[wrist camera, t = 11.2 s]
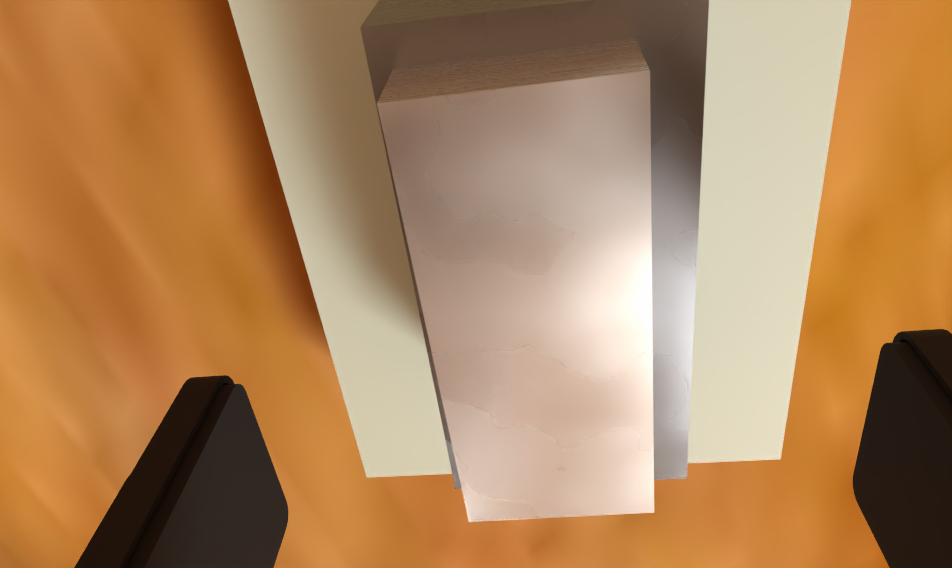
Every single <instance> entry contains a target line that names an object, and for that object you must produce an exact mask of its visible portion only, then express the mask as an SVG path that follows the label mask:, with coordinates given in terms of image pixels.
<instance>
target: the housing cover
mask: <svg viewBox="0 0 952 568" xmlns="http://www.w3.org/2000/svg"><path fill="white" fill-rule="evenodd" d="M377 106H378V111H379V115H380V120H381V124H382V129H383V133H384V138H385V142H386V147H387V152H388V156H389V161H390V165H391V170H392V174H393V179H394V183H395V188H396V192H397V197H398V202H399V206H400V211H401V215H402V220H403V224H404V229H405V233H406V238H407V243H408V247H409V252H410V256H411V261H412V265H413V270H414V274H415V279H416V283H417V288H418V293H419V297H420V302H421V306H422V311H423V315H424V320H425V324H426V329H427V334H428V338H429V343H430V347H431V352H432V356H433V361H434V365H435V370H436V374H437V379H438V384H439V388H440V393H441V397H442V402H443V406H444V411H445V415H446V420H447V425H448V429H449V434H450V438H451V443H452V447H453V452H454V456H455V461H456V465H457V470H458V475H459V479H460V484H461V488H462V493H463V497H464V502H465V506H466V511H467V516H468V520H469V522H475V521H495V520H515V519H535V518H555V517H575V516H595V515H615V514H635V513H654V440H653V331H652V222H651V114H650V69H649V67H648V65H647V63H646V61H645V59H644V57H643V55H642V52H641V50H640V48H639V46H638V44H637V42H636V40H635V39H627V40H619V41H611V42H603V43H595V44H587V45H579V46H571V47H563V48H555V49H547V50H539V51H531V52H523V53H515V54H507V55H499V56H491V57H483V58H475V59H467V60H459V61H451V62H443V63H435V64H427V65H419V66H411V67H403V68H395V69H393V70H392V72H391V74H390V76H389V78H388V81H387V83H386V85H385V87H384V89H383V91H382V94H381V96H380V98H379V100H378V102H377Z"/></svg>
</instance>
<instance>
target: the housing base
mask: <svg viewBox="0 0 952 568" xmlns="http://www.w3.org/2000/svg"><path fill="white" fill-rule="evenodd" d="M708 13H709V0H379V1H378V2H377V4H376V5H375V7H374V8H373V9H372V11H371V12H370V14H369V15H368V17H367V18H366V20H365V21H364V22H363V24H362V25H361V27H360V29H361V34H362V39H363V44H364V49H365V54H366V58H367V63H368V68H369V73H370V78H371V83H372V87H373V92H374V97H375V102H376V107H377V112H378V117H379V121H380V126H381V131H382V136H383V141H384V146H385V150H386V155H387V160H388V165H389V170H390V175H391V179H392V184H393V189H394V194H395V199H396V204H397V209H398V213H399V218H400V223H401V228H402V233H403V238H404V242H405V247H406V252H407V257H408V262H409V267H410V271H411V276H412V281H413V286H414V291H415V296H416V301H417V305H418V310H419V315H420V320H421V325H422V330H423V334H424V339H425V344H426V349H427V354H428V359H429V363H430V368H431V373H432V378H433V383H434V388H435V393H436V397H437V402H438V407H439V412H440V417H441V422H442V426H443V431H444V436H445V441H446V446H447V451H448V455H449V460H450V465H451V470H452V475H453V480H454V485H455V489H462V488H461V484H460V479H459V475H458V470H457V465H456V461H455V456H454V452H453V447H452V443H451V438H450V434H449V429H448V425H447V420H446V415H445V411H444V406H443V402H442V397H441V393H440V388H439V384H438V379H437V374H436V370H435V365H434V361H433V356H432V352H431V347H430V343H429V338H428V334H427V329H426V324H425V320H424V315H423V311H422V306H421V302H420V297H419V293H418V288H417V283H416V279H415V274H414V270H413V265H412V261H411V256H410V252H409V247H408V243H407V238H406V233H405V229H404V224H403V220H402V215H401V211H400V206H399V202H398V197H397V192H396V188H395V183H394V179H393V174H392V170H391V165H390V161H389V156H388V152H387V147H386V142H385V138H384V133H383V129H382V124H381V120H380V115H379V111H378V106H377V102H378V100H379V98H380V96H381V94H382V91H383V89H384V87H385V85H386V83H387V81H388V78H389V76H390V74H391V72H392V70H393V69H395V68H403V67H411V66H419V65H427V64H435V63H443V62H451V61H459V60H467V59H475V58H483V57H491V56H499V55H507V54H515V53H523V52H531V51H539V50H547V49H555V48H563V47H571V46H579V45H587V44H595V43H603V42H611V41H619V40H627V39H635V40H636V42H637V44H638V46H639V48H640V50H641V52H642V55H643V57H644V59H645V61H646V63H647V65H648V67H649V69H650V114H651V222H652V331H653V440H654V480H659V479H681V478H687V462H688V441H689V419H690V398H691V377H692V355H693V334H694V312H695V291H696V270H697V248H698V227H699V205H700V184H701V163H702V141H703V120H704V98H705V77H706V55H707V34H708Z"/></svg>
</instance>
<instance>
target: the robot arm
mask: <svg viewBox="0 0 952 568" xmlns="http://www.w3.org/2000/svg"><path fill="white" fill-rule="evenodd" d="M853 489H854V494H855V497H856V500H857V503H858V505H859V507H860V509H861V511H862V513H863V515H864V517H865V519H866V521H867V523H868V525H869V527H870V529H871V531H872V533H873V535H874V537H875V539H876V541H877V543H878V545H879V547H880V549H881V551H882V553H883V555H884V557H885V559H886V561H887V563H888V565H889V567H890V568H952V334H951V333H950V332H949V331H947V330H944V329H936V330H920V331H905V332H900V333H898V334H897V335H896V336H895V337H894V340H893V343H886V344H884V345H883V346H882V348H881V351H880V355H879V360H878V365H877V369H876V374H875V378H874V383H873V387H872V392H871V397H870V401H869V406H868V410H867V415H866V419H865V424H864V429H863V433H862V438H861V442H860V447H859V452H858V456H857V461H856V465H855V470H854V474H853ZM287 522H288V505H287V502H286V499H285V496H284V493H283V491H282V488H281V485H280V483H279V480H278V477H277V474H276V472H275V469H274V466H273V464H272V461H271V458H270V455H269V453H268V450H267V447H266V445H265V442H264V439H263V437H262V434H261V431H260V428H259V426H258V423H257V420H256V418H255V415H254V412H253V409H252V407H251V404H250V401H249V399H248V396H247V393H246V391H245V389H244V387H243V386H242V385H241V384H234V382H233V380H232V379H231V378H230V377H229V376H225V375H224V376H209V377H194V378H190V379H188V380H187V381H186V382H185V383H184V385H183V386H182V388H181V390H180V391H179V393H178V395H177V397H176V398H175V400H174V402H173V403H172V405H171V407H170V408H169V410H168V412H167V414H166V415H165V417H164V419H163V420H162V422H161V424H160V425H159V427H158V429H157V430H156V432H155V434H154V436H153V437H152V439H151V441H150V442H149V444H148V446H147V447H146V449H145V451H144V453H143V454H142V456H141V458H140V459H139V461H138V463H137V464H136V466H135V468H134V470H133V471H132V473H131V474H130V476H129V477H128V478H127V479H126V481H125V483H124V484H123V486H122V488H121V490H120V491H119V493H118V495H117V496H116V498H115V500H114V501H113V503H112V505H111V506H110V508H109V510H108V512H107V513H106V515H105V517H104V518H103V520H102V522H101V523H100V525H99V527H98V528H97V530H96V532H95V534H94V535H93V537H92V539H91V540H90V542H89V544H88V545H87V547H86V549H85V551H84V552H83V554H82V556H81V557H80V559H79V561H78V562H77V564H76V566H75V567H74V568H273V567H274V564H275V561H276V558H277V555H278V552H279V549H280V546H281V543H282V539H283V536H284V533H285V530H286V527H287Z"/></svg>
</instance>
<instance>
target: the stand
mask: <svg viewBox="0 0 952 568" xmlns="http://www.w3.org/2000/svg"><path fill="white" fill-rule="evenodd" d="M378 1H379V0H228V2H229V5H230V9H231V12H232V15H233V19H234V22H235V26H236V29H237V33H238V36H239V40H240V43H241V46H242V50H243V53H244V57H245V60H246V64H247V67H248V70H249V74H250V77H251V81H252V84H253V88H254V91H255V95H256V98H257V101H258V105H259V108H260V112H261V115H262V119H263V122H264V126H265V129H266V132H267V136H268V139H269V143H270V146H271V150H272V153H273V156H274V160H275V163H276V167H277V170H278V174H279V177H280V181H281V184H282V187H283V191H284V194H285V198H286V201H287V205H288V208H289V211H290V215H291V218H292V222H293V225H294V229H295V232H296V236H297V239H298V242H299V246H300V249H301V253H302V256H303V260H304V263H305V266H306V270H307V273H308V277H309V280H310V284H311V287H312V291H313V294H314V297H315V301H316V304H317V308H318V311H319V315H320V318H321V321H322V325H323V328H324V332H325V335H326V339H327V342H328V346H329V349H330V352H331V356H332V359H333V363H334V366H335V370H336V373H337V377H338V380H339V383H340V387H341V390H342V394H343V397H344V401H345V404H346V407H347V411H348V414H349V418H350V421H351V425H352V428H353V432H354V435H355V438H356V442H357V445H358V449H359V452H360V456H361V459H362V462H363V466H364V469H365V473H366V476H367V477H388V476H410V475H433V474H452V470H451V465H450V460H449V455H448V451H447V446H446V441H445V436H444V431H443V426H442V422H441V417H440V412H439V407H438V402H437V397H436V393H435V388H434V383H433V378H432V373H431V368H430V363H429V359H428V354H427V349H426V344H425V339H424V334H423V330H422V325H421V320H420V315H419V310H418V305H417V301H416V296H415V291H414V286H413V281H412V276H411V271H410V267H409V262H408V257H407V252H406V247H405V242H404V238H403V233H402V228H401V223H400V218H399V213H398V209H397V204H396V199H395V194H394V189H393V184H392V179H391V175H390V170H389V165H388V160H387V155H386V150H385V146H384V141H383V136H382V131H381V126H380V121H379V117H378V112H377V107H376V102H375V97H374V92H373V87H372V83H371V78H370V73H369V68H368V63H367V58H366V54H365V49H364V44H363V39H362V34H361V29H360V27H361V25H362V24H363V22H364V21H365V20H366V18H367V17H368V15H369V14H370V12H371V11H372V9H373V8H374V7H375V5H376V4H377V2H378ZM850 6H851V0H709V13H708V34H707V55H706V77H705V98H704V120H703V141H702V163H701V184H700V205H699V227H698V248H697V270H696V291H695V312H694V334H693V355H692V377H691V398H690V419H689V441H688V462H687V463H706V462H729V461H752V460H774V459H781V452H782V446H783V439H784V433H785V426H786V420H787V414H788V407H789V401H790V394H791V388H792V381H793V375H794V368H795V362H796V355H797V349H798V342H799V336H800V329H801V323H802V316H803V310H804V303H805V297H806V291H807V284H808V278H809V271H810V265H811V258H812V252H813V245H814V239H815V232H816V226H817V219H818V213H819V206H820V200H821V193H822V187H823V181H824V174H825V168H826V161H827V155H828V148H829V142H830V135H831V129H832V122H833V116H834V109H835V103H836V96H837V90H838V83H839V77H840V71H841V64H842V58H843V51H844V45H845V38H846V32H847V25H848V19H849V12H850Z"/></svg>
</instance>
